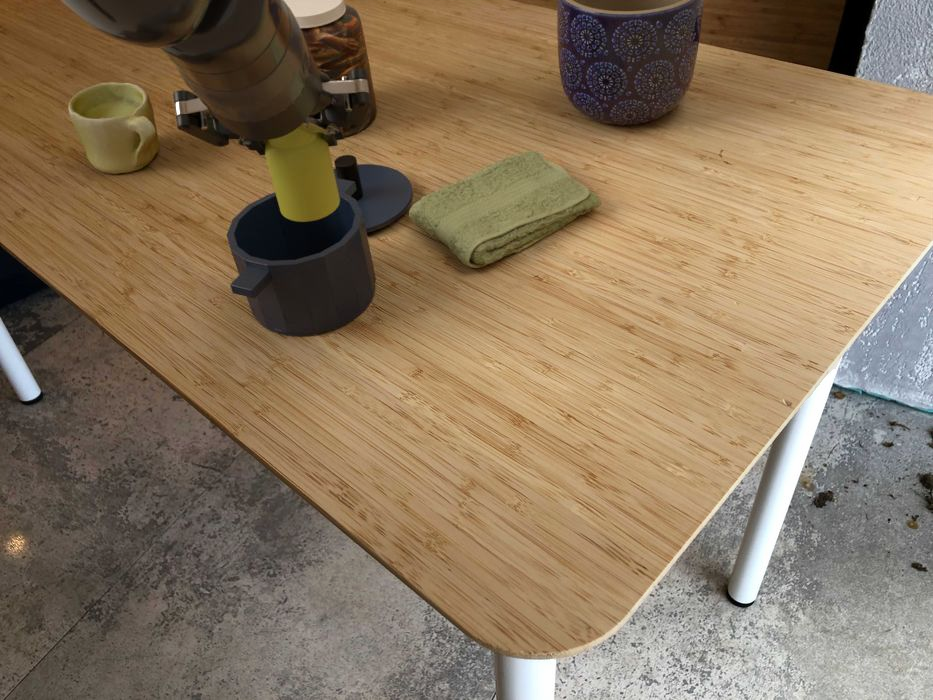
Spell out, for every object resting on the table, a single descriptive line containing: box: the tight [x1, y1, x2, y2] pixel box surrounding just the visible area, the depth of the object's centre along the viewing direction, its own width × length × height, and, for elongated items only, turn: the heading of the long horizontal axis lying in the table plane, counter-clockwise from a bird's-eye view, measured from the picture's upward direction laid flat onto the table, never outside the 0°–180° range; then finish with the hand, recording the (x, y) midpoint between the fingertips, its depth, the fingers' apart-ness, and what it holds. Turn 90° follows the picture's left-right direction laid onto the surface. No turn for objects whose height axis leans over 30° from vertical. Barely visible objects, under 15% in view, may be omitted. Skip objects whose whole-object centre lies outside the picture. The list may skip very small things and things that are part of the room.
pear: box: [264, 128, 340, 222], centre depth 67 cm, size 5×5×10 cm
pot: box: [226, 178, 377, 337], centre depth 81 cm, size 12×18×8 cm
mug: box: [68, 81, 160, 175], centre depth 104 cm, size 12×10×10 cm
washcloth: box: [408, 151, 602, 269], centre depth 90 cm, size 13×18×3 cm
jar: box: [284, 0, 378, 138], centre depth 105 cm, size 12×12×15 cm
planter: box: [556, 0, 705, 126], centre depth 101 cm, size 17×17×15 cm
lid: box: [333, 154, 414, 233], centre depth 93 cm, size 13×13×6 cm
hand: (297, 138), depth 69 cm, fingers closed on pear, 5 cm apart
